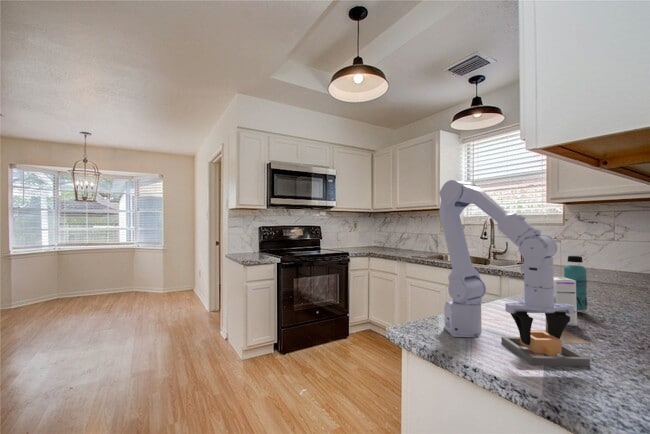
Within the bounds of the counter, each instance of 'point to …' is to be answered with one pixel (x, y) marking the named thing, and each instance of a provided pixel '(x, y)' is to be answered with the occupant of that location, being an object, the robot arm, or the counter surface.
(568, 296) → the syrup box
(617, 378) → the counter surface
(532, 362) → the tray
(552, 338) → the ring
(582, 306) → the beverage bottle
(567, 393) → the counter surface
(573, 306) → the robot arm
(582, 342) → the stake board
